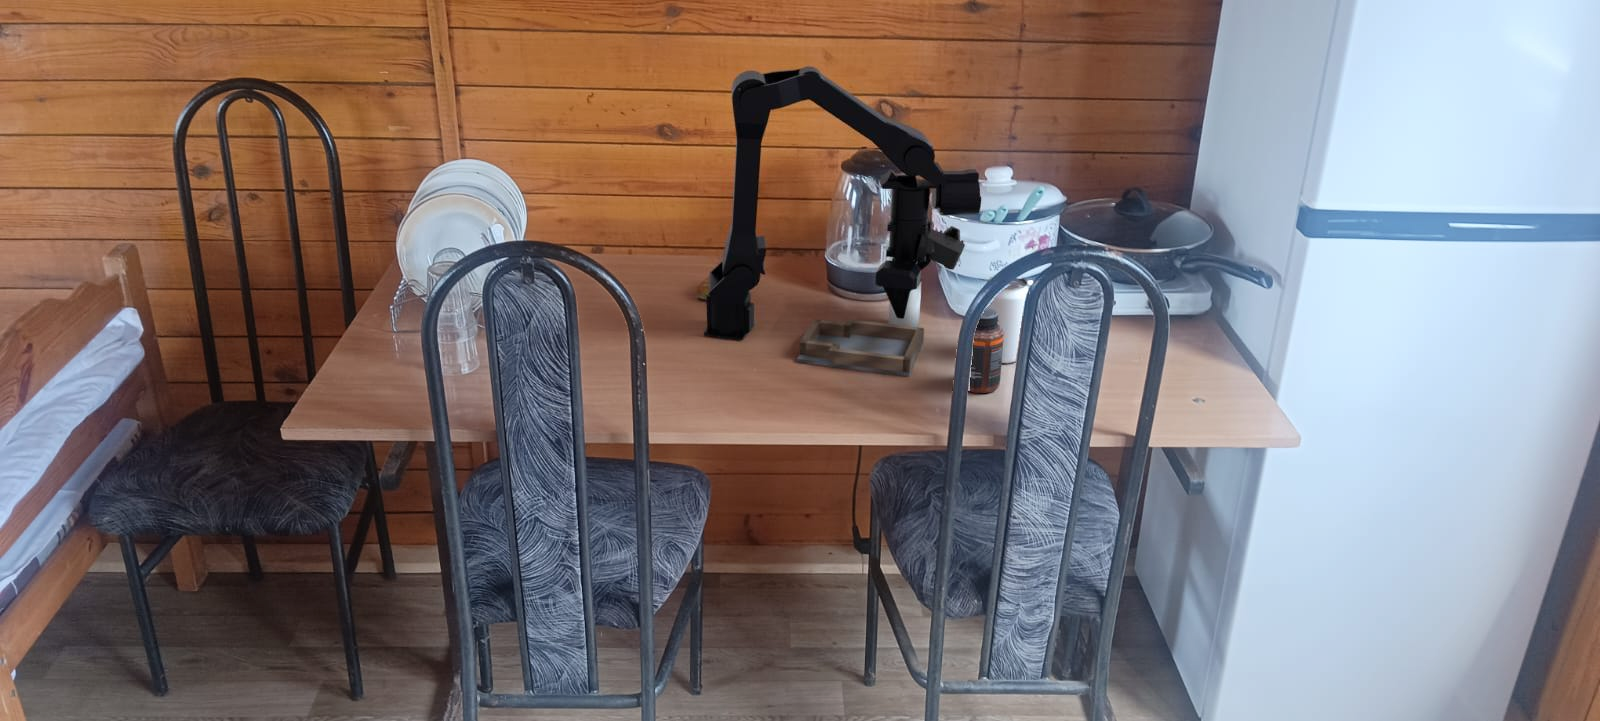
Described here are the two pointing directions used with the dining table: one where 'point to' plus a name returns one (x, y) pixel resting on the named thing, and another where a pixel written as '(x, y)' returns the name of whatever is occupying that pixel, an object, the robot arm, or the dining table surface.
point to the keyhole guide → (862, 346)
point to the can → (1010, 316)
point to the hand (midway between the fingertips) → (904, 310)
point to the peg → (908, 310)
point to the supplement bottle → (987, 353)
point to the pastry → (703, 289)
